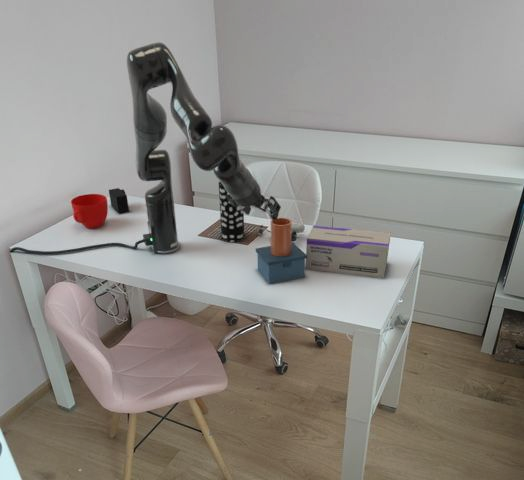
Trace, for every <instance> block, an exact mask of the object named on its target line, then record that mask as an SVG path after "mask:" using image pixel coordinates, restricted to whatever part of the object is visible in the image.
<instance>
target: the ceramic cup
mask: <svg viewBox="0 0 524 480" xmlns="http://www.w3.org/2000/svg"><path fill="white" fill-rule="evenodd" d="M70 204H71V208H72V210H73V214H72V216H73V219H74V221H75V222H76V223H78V224H82V225H83V226H84V227H85V228H86V229H97V228H100V227H102V226H103V225H104V224H105V221H106V220H107V217H108V214H109V213H108V212H109V206H108V205H109V204H108V199H107V196H106V195H104V194H100V193H88V194H86V193H85V194H81V195H78V196H76V197H74V198H72V199H71V201H70Z"/></svg>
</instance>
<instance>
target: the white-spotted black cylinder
mask: <svg viewBox="0 0 524 480" xmlns="http://www.w3.org/2000/svg"><path fill="white" fill-rule="evenodd" d="M227 193H228V192H227V191H226V190H225V188H224V186H223V184H222V183H221V182H220V181H218V197H219V216H220V232H221V233H220V234H221V235H220V237H221V240H223V241H225V242H227V243H237V242H240V241H243V240H244V239H245V215H244V214H245V212H244V211H243V210H242V209H240V208H238V207H239V206H236V207H234V206H232V205H231V203H230V202H229V200H228V199H227V198H226V195H227Z"/></svg>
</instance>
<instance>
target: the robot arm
mask: <svg viewBox="0 0 524 480" xmlns="http://www.w3.org/2000/svg"><path fill="white" fill-rule="evenodd" d="M126 69H127V75H128V82H129V86H130V92H131V98H132V114H133V115H132V118H133V119H132V120H133V121H132V122H133V131H134V137H135V169H136V173H137V176H138V178H139V179H140V180H141V182H157V181H158V182H159V181H160V182H159V183H158V184H157V185H155V186H154V187H151V188H149V189H148V190H147V191H145V193H144V201H145V208H146V215H147V230H148V233H144V234H143V233H142V238H143V239H139V240H138V241H136V242H135V243H134V246H131V245H128V244H125V243H122V242H108V243H107V242H106V243H101V244H95V245H88V246H83V247H78V248H69V249H63V250H54V251H53V250H51V251H48V250H46V251H45V250H31V249H27V248H23V247H19V246H14V247H12V248H11V249H10V250H9V253H13V252H15V251H21V252H24V253H28V254H37V255H59V254H66V253H73V252H80V251H85V250H92V249H96V248H103V247H112V246H114V247H115V246H118V247H123V248H127V249H129V250H130V249H131V250H136V249H138V247H139V245H140V244H142V243H144V245H145V246H146V247H149V246H150V249H151V251H152V252H153V254H171V253H174V252H177V251H178V250H179V249H180V245H179V237H178V229H177V228H178V227H177V218H176V210H175V200H174V191H173V182H172V181H173V179H172V162H171V157H170V154H169V152H168V151H167V150H166V149H157V148H159V146H160V145H161V144H162V143H163V141H164V140H165V138H166V135H167V133H168V117H167V111H166V109H165V107H164V106H163V105H162V104H161V103H160V102H159V101H158V100H156V98H154V97H153V96H152V95H151V94H149V91H150V90H152V89H155V88H158V87H162V86H165V85H167V84H169V83H170V84H171V95H170V103H169V104H170V112H171V116H172V118H173V121H174V122H175V123H176V125H177V127H179V129H180V131H181V132H182V133H183V134H184V136H185V138H186V141H187V144H188V148H189V152H190V155H191V158H192V160H193V162H194V164H195V165H196V167H198V168H199V169H200V170H202V171H205V172H211V171H213V174H214V175H215V177H216V178H217V179H218V182H221V183H222V184H223V186H224V188H225V190H226V191H227V192H228V193H227V195H226V198H227V199H228V200H229V202H230V203H231V205H232V206H234V207H236V206H239V207H238V208H240V209H242V210H243V211H244V214H245V215H246V216H247V215H248V216H249V215H250V213H251V210H252V209H255V210H257V211H258V212H261V213H266V214H267V215H268V216H269V217H270V218H271V220H276V219H277V218H279V215H280V211H281V208H282V206H281V205H280V203H279V202H278V201H277V199H276V198H275V197H274V196H269V198H266V197H265V196H264V195H263V194H262V192H261V186H260V185H259V183H258V182H257V180H256V179H255V177H254V175H253V174H252V173H251V170H249V169H248V167H246V165H245V163H243V161H242V159H241V158H240V154H239V153H240V152H239V147H238V142H237V138H236V136H235V135H234V133H233V131H232V130H231V129H230V128H229V127H228V126H226V125H224V124H215V125H214V126H213V121H212V118H211V117H210V115H209V114H208V112H207V111H206V110H205V109H204V107H203V106H202V104H201V103H200V102H199V100H198V99H197V97H196V96H195V95H194V93H193V92H192V89H191V87H190V86H189V83H188V81H187V79H186V77H185V76H184V73H183V72H182V70H181V68H180V66H179V64H178V62H177V60H176V58H175V56H174V55H173V52H171V50H170V48H169V47H168V46H167V45H166V44H165V43H163V42H161V41H160V42H159V41H158V42H153V43H150V44H146V45H144V46H143V45H142V46H140V47H136V48H134V49H131V50H130V51H129V52H127V55H126ZM262 206H263V207H262Z"/></svg>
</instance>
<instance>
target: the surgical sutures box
mask: <svg viewBox="0 0 524 480" xmlns="http://www.w3.org/2000/svg"><path fill="white" fill-rule="evenodd" d="M390 243H391V232H385V231H384V232H383V231H374V230H363V229H354V228H345V227H334V226H325V225H313V226H312V227H311V229H310V232H309V233H308V235H307V236H306V250H305V251H306V252H305V254H306V255H307V259H305V270H312V271H319V272H329V273H335V274H344V275H345V274H346V275H353V276H361V277H369V278H377V279H378V278H379V279H384V278H385V274H386V269H387V263H388V258H389V249H390Z"/></svg>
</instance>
